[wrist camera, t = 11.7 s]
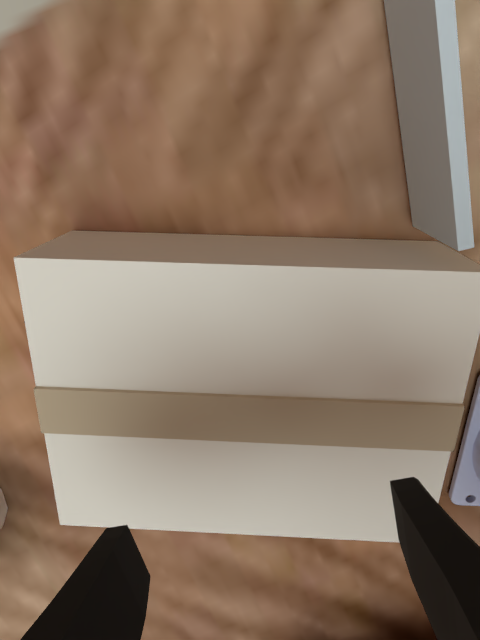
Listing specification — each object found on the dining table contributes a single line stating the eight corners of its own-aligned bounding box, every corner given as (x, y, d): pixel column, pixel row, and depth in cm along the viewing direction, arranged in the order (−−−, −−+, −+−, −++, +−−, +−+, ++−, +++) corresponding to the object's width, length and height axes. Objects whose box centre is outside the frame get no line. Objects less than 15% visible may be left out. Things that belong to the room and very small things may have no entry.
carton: (437, 241, 19) (497, 274, 14) (395, 465, 24) (429, 547, 19) (72, 230, 20) (10, 259, 15) (98, 451, 24) (58, 528, 19)
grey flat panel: (428, 222, 18) (556, 283, 10) (409, 227, 19) (521, 291, 11) (377, -225, 14) (543, -752, 6) (351, -215, 14) (478, -719, 6)
